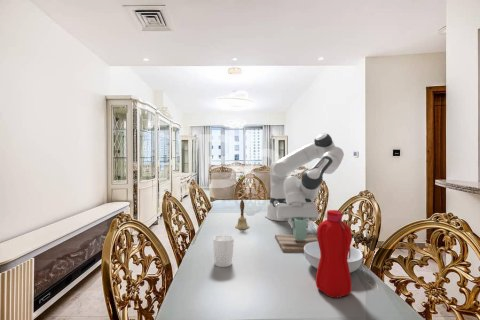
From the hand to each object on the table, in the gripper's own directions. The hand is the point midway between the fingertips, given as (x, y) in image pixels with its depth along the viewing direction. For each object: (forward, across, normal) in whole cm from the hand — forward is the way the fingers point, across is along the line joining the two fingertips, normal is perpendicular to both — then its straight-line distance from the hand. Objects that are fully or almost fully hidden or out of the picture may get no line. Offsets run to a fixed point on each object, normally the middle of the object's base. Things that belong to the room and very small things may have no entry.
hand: (300, 227), depth 124 cm
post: (+4, 0, +5) cm, 7 cm away
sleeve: (+3, 0, +4) cm, 5 cm away
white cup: (+21, -36, -9) cm, 42 cm away
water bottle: (+36, -1, -25) cm, 44 cm away
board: (+5, 0, +6) cm, 8 cm away
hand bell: (-16, -26, +27) cm, 41 cm away
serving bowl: (+24, +5, -13) cm, 28 cm away
